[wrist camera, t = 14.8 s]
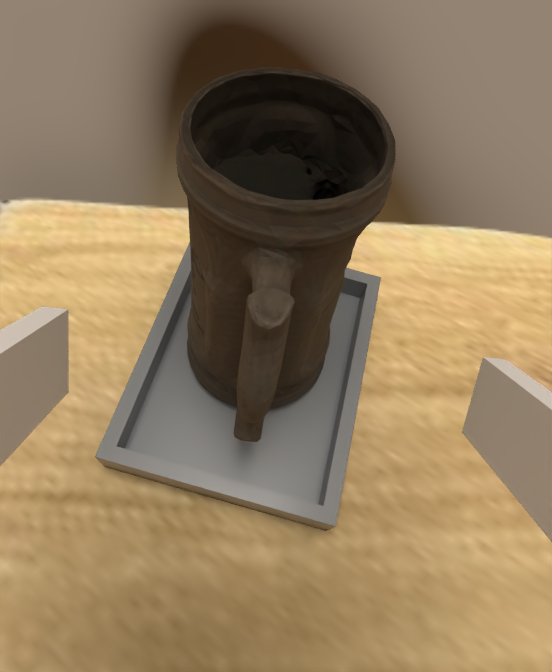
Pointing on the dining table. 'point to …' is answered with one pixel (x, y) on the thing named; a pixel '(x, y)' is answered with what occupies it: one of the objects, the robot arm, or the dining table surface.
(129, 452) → the tray
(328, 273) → the beer stein
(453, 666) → the dining table surface
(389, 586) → the dining table surface
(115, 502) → the dining table surface
